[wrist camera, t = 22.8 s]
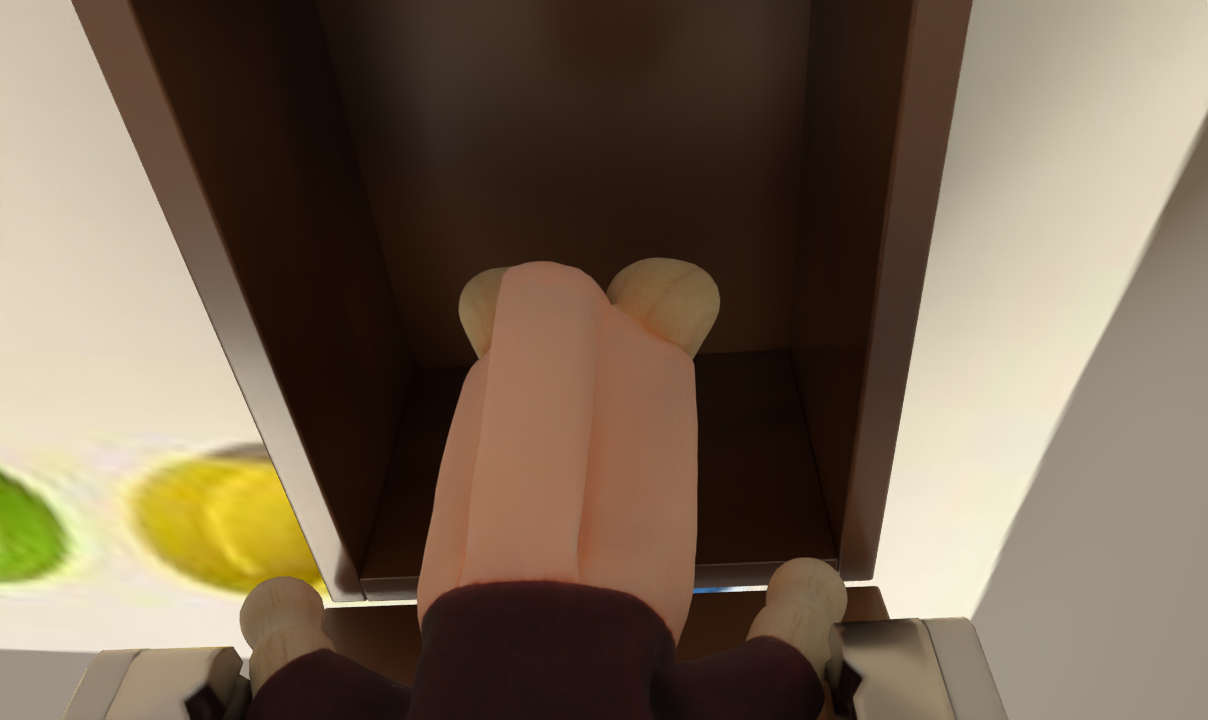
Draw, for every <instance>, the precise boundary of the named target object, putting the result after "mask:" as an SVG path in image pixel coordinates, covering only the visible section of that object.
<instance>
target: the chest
mask: <svg viewBox="0 0 1208 720" xmlns="http://www.w3.org/2000/svg"><path fill="white" fill-rule="evenodd" d="M71 1H72V4H73V6H74V8H75V11H76V13H77V15H78V17H79V20H80V22H81V24H82V27H83V29H84V31H85V34H86V36H87V38H88V40H89V43H90V45H91V47H92V50H93V52H94V54H95V57H96V59H97V61H98V63H99V66H100V68H101V70H102V73H103V75H104V77H105V80H106V82H107V84H108V86H109V89H110V91H111V93H112V96H113V98H114V100H115V103H116V105H117V107H118V109H119V112H120V114H121V116H122V119H123V121H124V123H125V126H126V128H127V130H128V132H129V135H130V137H131V139H132V142H133V144H134V146H135V148H136V151H137V153H138V155H139V158H140V160H141V162H142V165H143V167H144V169H145V171H146V174H147V176H148V178H149V181H150V183H151V185H152V188H153V190H154V192H155V194H156V197H157V199H158V201H159V204H160V206H161V208H162V211H163V213H164V215H165V217H166V220H167V222H168V224H169V227H170V229H171V231H172V234H173V236H174V238H175V240H176V243H177V245H178V247H179V250H180V252H181V254H182V257H183V259H184V261H185V263H186V266H187V268H188V270H189V273H190V275H191V277H192V279H193V282H194V284H195V286H196V289H197V291H198V293H199V296H200V298H201V300H202V302H203V305H204V307H205V309H206V312H207V314H208V316H209V319H210V321H211V323H212V325H213V328H214V330H215V332H216V335H217V337H218V339H219V342H220V344H221V346H222V348H223V351H224V353H225V355H226V358H227V360H228V362H229V365H230V367H231V369H232V371H233V374H234V376H235V378H236V381H237V383H238V385H239V388H240V390H241V392H242V394H243V397H244V399H245V401H246V404H247V406H248V408H249V411H250V413H251V415H252V417H253V420H254V422H255V424H256V427H257V429H258V431H259V433H260V436H261V438H262V440H263V443H264V445H265V447H266V450H267V452H268V454H269V456H270V459H271V461H272V463H273V466H274V468H275V470H276V473H277V475H278V477H279V479H280V482H281V484H282V486H283V489H284V491H285V493H286V496H287V498H288V500H289V502H290V505H291V507H292V509H293V512H294V514H295V516H296V519H297V521H298V523H299V525H300V528H301V530H302V532H303V535H304V537H305V539H306V542H307V544H308V546H309V548H310V551H311V553H312V555H313V558H314V560H315V562H316V564H317V567H318V569H319V571H320V574H321V576H322V578H323V581H324V583H325V585H326V587H327V590H328V592H329V594H330V597H331V599H332V601H333V602H354V601H366V600H368V601H390V600H414V599H417V588H418V582H419V577H420V573H421V569H422V563H423V557H424V551H425V546H426V541H427V537H428V532H429V527H430V523H431V518H432V513H433V508H434V500H435V492H436V486H437V481H438V476H439V471H440V466H441V462H442V458H443V454H444V450H445V446H446V442H447V438H448V434H449V431H450V427H451V424H452V420H453V417H454V414H455V410H456V407H457V404H458V400H459V397H460V394H461V390H462V387H463V383H464V381H465V379H466V376H467V374H468V372H469V371H470V369H471V367H472V366H473V365H474V364H475V362H476V361H478V360H479V358H478V356H477V354H476V352H475V350H474V348H473V346H472V344H471V342H470V340H469V338H468V336H467V334H466V332H465V330H464V327H463V325H462V322H461V320H460V315H459V301H460V296H461V293H462V291H463V289H464V287H465V286H466V284H467V283H468V282H469V281H470V280H471V279H472V278H474V277H475V276H477V275H478V274H480V273H481V272H484V271H486V270H489V269H493V268H500V267H512V266H518V265H521V264H524V263H527V262H536V261H548V262H555V263H558V264H562V265H566V266H571V267H575V268H578V269H580V270H582V271H583V272H584V273H586V274H587V275H589V276H591V277H592V278H593V280H594V281H595V282H596V283H597V284H598V285H599V286H600V288H601V289H602V290H603V292H604V293H605V295H606V292H607V289H608V287H609V285H610V283H611V282H612V280H613V279H614V277H615V276H616V275H617V274H618V273H619V272H620V271H621V270H622V269H624V268H625V267H627V266H629V265H631V264H633V263H635V262H638V261H640V260H644V259H647V258H669V259H676V260H681V261H685V262H688V263H692V264H695V265H696V266H698V267H700V268H702V269H703V270H704V271H706V272H707V273H708V274H709V275H710V276H711V277H712V279H713V280H714V282H715V284H716V285H717V287H718V292H719V296H720V307H719V312H718V315H717V318H716V320H715V322H714V324H713V326H712V328H711V329H710V331H709V333H708V334H707V336H706V338H705V339H704V341H703V343H702V345H701V346H700V348H699V350H698V351H697V353H696V355H695V357H694V358H693V360H692V361H693V363H694V368H695V387H696V407H697V420H698V451H697V461H698V480H697V540H696V555H695V577H694V587H693V588H712V587H736V586H761V585H768V584H769V582H770V580H771V578H772V576H773V574H774V573H775V571H776V570H777V569H778V568H779V567H780V566H781V565H782V564H784V563H785V562H788V561H790V560H792V559H796V558H814V559H818V560H821V561H824V562H825V563H827V564H829V565H830V566H831V567H832V568H833V569H834V570H835V571H836V572H838V574H839V576H840V577H841V579H842V580H843V581H866V580H872V579H873V575H874V569H875V563H876V557H877V551H878V546H879V540H880V534H881V528H882V522H883V517H884V511H885V505H886V499H887V494H888V488H889V482H890V476H891V470H892V465H893V459H894V453H895V447H896V441H897V436H898V430H899V424H900V418H901V412H902V407H903V401H904V395H905V389H906V384H907V378H908V372H909V366H910V360H911V355H912V349H913V343H914V337H915V331H916V326H917V320H918V314H919V308H920V302H921V297H922V291H923V285H924V279H925V274H926V268H927V262H928V256H929V250H930V245H931V239H932V233H933V227H934V221H935V216H936V210H937V204H938V198H939V192H940V187H941V181H942V175H943V169H944V164H945V158H946V152H947V146H948V140H949V135H950V129H951V123H952V117H953V111H954V106H955V100H956V94H957V88H958V82H959V77H960V71H961V65H962V59H963V53H964V48H965V42H966V36H967V30H968V25H969V19H970V13H971V7H972V1H973V0H71Z"/></svg>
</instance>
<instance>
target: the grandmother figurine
mask: <svg viewBox="0 0 1208 720" xmlns="http://www.w3.org/2000/svg"><path fill="white" fill-rule="evenodd" d="M719 307H720V296H719V292H718V287H717V285H716V284H715V282H714V280H713V279H712V277H711V276H710V275H709V274H708V273H707V272H706V271H704V270H703V269H702V268H700V267H698V266H696V265H695V264H692V263H688V262H685V261H681V260H676V259H669V258H647V259H644V260H640V261H638V262H635V263H633V264H631V265H629V266H627V267H625V268H624V269H622V270H621V271H620V272H619V273H618V274H617V275H616V276H615V277H614V279H613V280H612V282H611V283H610V285H609V287H608V289H607V292H606V295H605V293H604V292H603V290H602V289H601V288H600V286H599V285H598V284H597V283H596V282H595V281H594V280H593V278H592V277H591V276H589V275H587V274H586V273H584V272H583V271H582V270H580V269H578V268H575V267H571V266H566V265H562V264H558V263H555V262H548V261H536V262H527V263H524V264H521V265H518V266H512V267H500V268H493V269H489V270H486V271H484V272H481V273H480V274H478V275H477V276H475V277H474V278H472V279H471V280H470V281H469V282H468V283H467V284H466V286H465V287H464V289H463V291H462V293H461V296H460V301H459V315H460V320H461V322H462V325H463V327H464V330H465V332H466V334H467V336H468V338H469V340H470V342H471V344H472V346H473V348H474V350H475V352H476V354H477V356H478V358H479V360H478V361H476V362H475V364H474V365H473V366H472V367H471V369H470V371H469V372H468V374H467V376H466V379H465V381H464V383H463V387H462V390H461V394H460V397H459V400H458V404H457V407H456V410H455V414H454V417H453V420H452V424H451V427H450V431H449V434H448V438H447V442H446V446H445V450H444V454H443V458H442V462H441V466H440V471H439V476H438V481H437V486H436V492H435V500H434V508H433V513H432V518H431V523H430V527H429V532H428V537H427V541H426V546H425V551H424V557H423V563H422V569H421V573H420V577H419V582H418V588H417V611H418V621H419V626H420V630H421V637H422V651H421V652H420V656H419V658H418V661H417V663H416V669H415V676H414V678H413V683H412V687H411V686H408V685H406V684H403V683H401V682H398V681H395V680H393V679H390V678H388V677H386V676H383V675H381V674H379V673H377V672H374V671H371V670H370V669H368V668H366V667H364V666H363V665H361V664H359V663H357V662H355V661H353V660H352V659H350V658H348V657H346V656H344V655H342V654H337V652H336V649H335V647H334V644H333V642H332V641H331V640H330V639H329V638H328V637H327V635H326V634H325V633H324V632H323V627H324V618H325V610H324V606H323V601H322V598H321V597H320V595H319V593H318V592H317V591H316V590H315V589H314V588H313V587H312V586H310V585H309V584H308V583H306V582H304V581H303V580H300V579H297V578H293V577H276V578H272V579H269V580H266V581H264V582H262V583H260V584H259V585H258V586H256V587H255V588H254V589H253V590H252V591H251V592H250V594H249V595H248V596H247V597H246V599H245V601H244V604H243V606H242V608H241V610H240V626H241V631H242V634H243V636H244V638H245V640H246V642H247V643H248V645H249V646H250V647H251V649H252V650H253V653H252V655H251V657H250V660H249V676H250V683H251V689H252V697H253V701H252V703H251V705H250V706H249V708H248V710H247V713H246V717H245V720H816V719H817V718H818V716H819V714H820V713H821V711H822V708H823V705H824V702H825V693H824V689H823V682H824V679H825V663H826V662H827V661H828V660H829V659H831V652H830V647H829V642H828V638H829V631H830V627H831V625H832V624H833V623H835V622H840V621H841V620H842V618H843V616H844V613H845V610H846V606H847V592H846V587H845V585H844V582H843V580H842V579H841V577H840V576H839V574H838V572H836V571H835V570H834V569H833V568H832V567H831V566H830V565H829V564H827V563H825V562H824V561H821V560H818V559H814V558H796V559H792V560H790V561H788V562H785V563H784V564H782V565H781V566H780V567H779V568H778V569H777V570H776V571H775V573H774V574H773V576H772V578H771V580H770V582H769V584H768V588H767V593H766V607H764V608H763V609H761V611H760V612H759V613H758V615H757V616H756V618H755V619H754V621H753V623H752V625H751V628H750V631H749V633H748V636H747V638H746V641H745V642H744V643H742V644H740V645H738V646H737V647H735V648H733V649H731V650H727V651H722V652H718V653H714V654H711V655H708V656H705V657H702V658H699V659H697V660H685V661H682V662H679V663H677V645H678V642H679V639H680V636H681V633H682V630H683V628H684V625H685V622H686V620H687V616H688V612H689V608H690V604H691V600H692V595H693V587H694V577H695V555H696V540H697V480H698V461H697V451H698V420H697V407H696V387H695V368H694V363H693V361H692V360H693V358H694V357H695V355H696V353H697V351H698V350H699V348H700V346H701V345H702V343H703V341H704V339H705V338H706V336H707V334H708V333H709V331H710V329H711V328H712V326H713V324H714V322H715V320H716V318H717V315H718V312H719Z"/></svg>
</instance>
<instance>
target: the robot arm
mask: <svg viewBox="0 0 1208 720" xmlns="http://www.w3.org/2000/svg"><path fill="white" fill-rule="evenodd" d="M828 642H829V647H830V652H831V657H832V658H831V659H829V660H828V661H827V662H826V663H825V679H824V693H825V709H826V716H827V720H1008V717H1007V714H1006V712H1005V709H1004V706H1003V703H1002V700H1001V698H1000V695H999V692H998V690H997V687H996V684H995V681H994V679H993V676H992V673H991V670H990V668H989V665H988V662H987V659H986V657H985V654H984V651H983V649H982V646H981V643H980V640H979V638H978V635H977V632H976V629H975V627H974V626H973V625H972V623H971V622H970V621H969V620H968V619H967V618H965V617H949V618H931V619H919V618H907V619H889V620H871V621H853V622H835V623H833V624H832V625H831V627H830V631H829V638H828ZM242 664H243V661H242V660H241V658H240V656H239V655H238V653H237V652H236V650H235V649H234V647H203V648H171V649H125V650H103V651H102V652H101V653H100V654H99V655H98V656H97V657H96V658H95V659H94V660H93V661H92V662H91V663H90V664H89V665H88V667H87V669H86V671H85V673H84V675H83V677H82V679H81V681H80V683H79V685H78V686H77V689H76V690H75V692H74V694H73V696H72V698H71V700H70V702H69V704H68V706H67V708H66V710H65V712H64V714H63V716H62V718H61V720H245V717H246V713H247V710H248V708H249V706H250V705H251V703H252V701H253V697H252V689H251V683H250V680H249V679H247V678H245V677H243V676H241V675H240V674H239V673H240V670H241V667H242Z"/></svg>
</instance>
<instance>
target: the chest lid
mask: <svg viewBox="0 0 1208 720" xmlns="http://www.w3.org/2000/svg"><path fill="white" fill-rule="evenodd" d="M846 592H847V606H846V610H845V613H844V616H843V618H842V620H841V621H840V622H853V621H871V620H889V619H890V618H889V615H888V612H887V609H886V606H885V604H884V601H883V598H882V595H881V592H880V589H879V588H878V587H877V586H867V587H846ZM766 593H767V591H742V592H717V593H693V595H692V600H691V604H690V608H689V612H688V616H687V620H686V622H685V625H684V628H683V630H682V633H681V636H680V639H679V642H678V645H677V663H679V662H682V661H685V660H697V659H699V658H702V657H705V656H708V655H711V654H714V653H718V652H722V651H727V650H731V649H733V648H735V647H737V646H738V645H740V644H742V643H744V642H745V641H746V638H747V636H748V633H749V631H750V628H751V625H752V623H753V621H754V619H755V618H756V616H757V615H758V613H759V612H760V611H761V609H763V608H764V607H766ZM323 632H324V633H325V634H326V635H327V637H328V638H329V639H330V640H331V641H332V642H333V644H334V647H335V649H336V652H337V654H342V655H344V656H346V657H348V658H350V659H352V660H353V661H355V662H357V663H359V664H361V665H363V666H364V667H366V668H368V669H370V670H371V671H374V672H377V673H379V674H381V675H383V676H386V677H388V678H390V679H393V680H395V681H398V682H401V683H403V684H406V685H408V686H411V687H412V683H413V678H414V676H415V669H416V663H417V661H418V658H419V656H420V652H421V651H422V637H421V630H420V626H419V621H418V611H417V605H392V606H367V607H342V608H326V609H325V618H324V627H323ZM831 658H832V657H831ZM823 689H824V682H823ZM816 720H827V716H826V709H825V702H824V705H823V708H822V711H821V713H820V714H819V716H818V718H817V719H816Z"/></svg>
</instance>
